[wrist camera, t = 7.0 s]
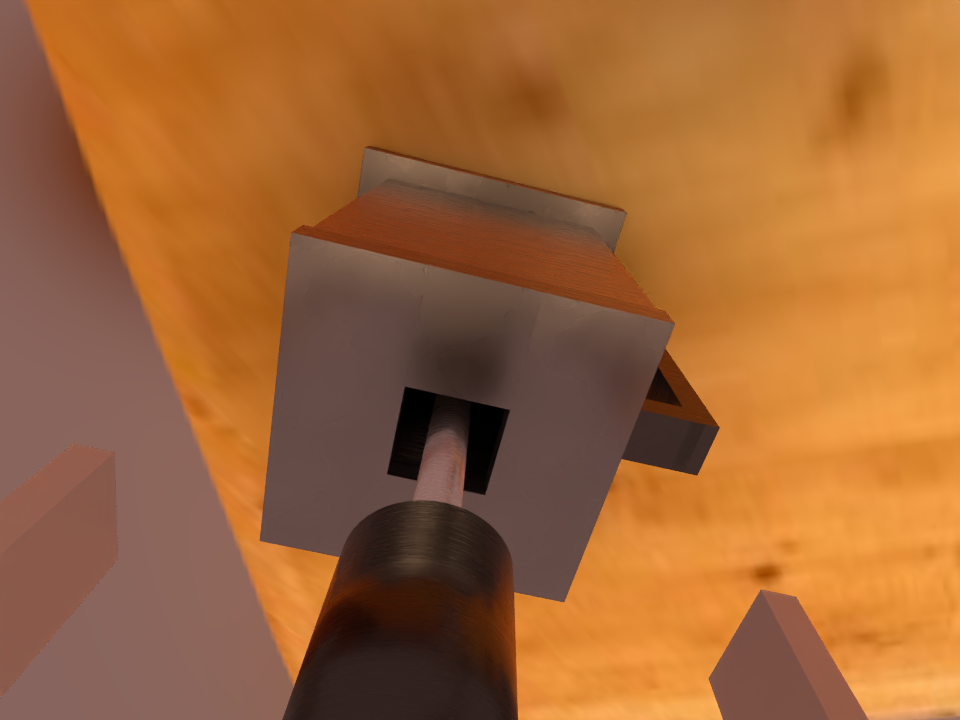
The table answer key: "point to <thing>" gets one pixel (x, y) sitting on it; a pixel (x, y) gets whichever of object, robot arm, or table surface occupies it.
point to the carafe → (470, 364)
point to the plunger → (417, 605)
